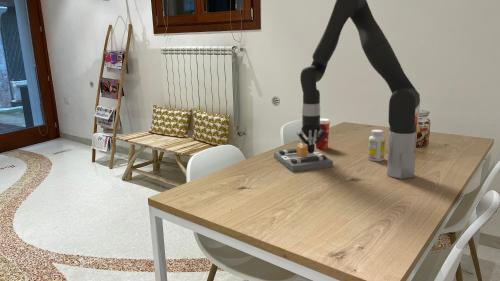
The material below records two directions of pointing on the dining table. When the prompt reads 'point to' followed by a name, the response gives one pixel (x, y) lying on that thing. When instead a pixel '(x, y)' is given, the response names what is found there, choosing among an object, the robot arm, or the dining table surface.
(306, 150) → the block
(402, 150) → the robot arm
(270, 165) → the dining table surface
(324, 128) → the paper cup
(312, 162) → the breaker panel
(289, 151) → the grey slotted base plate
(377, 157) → the supplement bottle
